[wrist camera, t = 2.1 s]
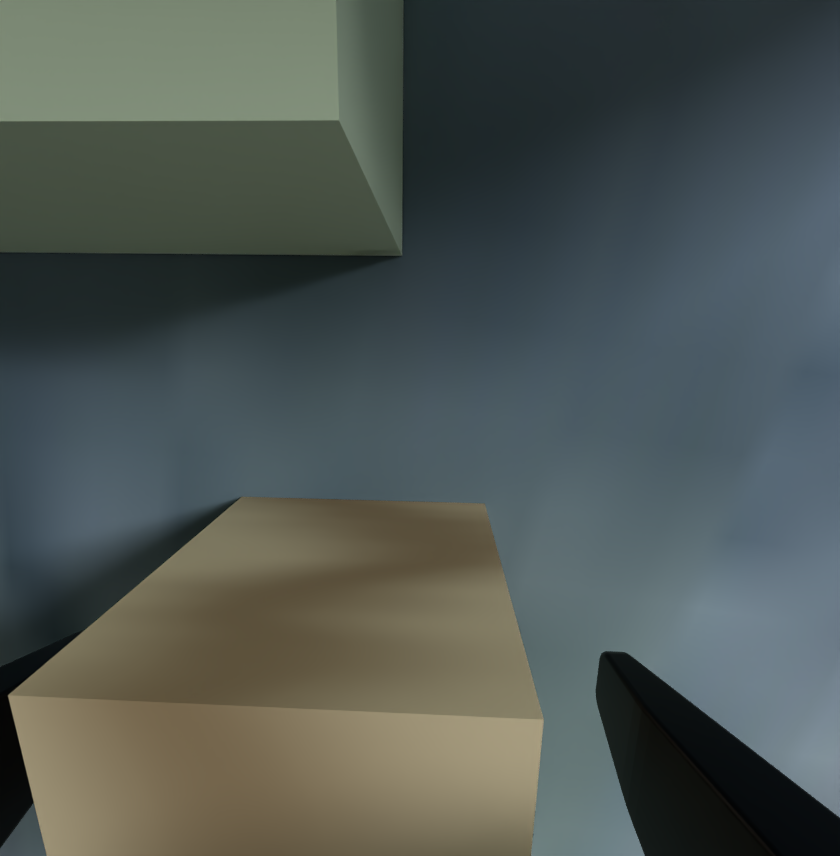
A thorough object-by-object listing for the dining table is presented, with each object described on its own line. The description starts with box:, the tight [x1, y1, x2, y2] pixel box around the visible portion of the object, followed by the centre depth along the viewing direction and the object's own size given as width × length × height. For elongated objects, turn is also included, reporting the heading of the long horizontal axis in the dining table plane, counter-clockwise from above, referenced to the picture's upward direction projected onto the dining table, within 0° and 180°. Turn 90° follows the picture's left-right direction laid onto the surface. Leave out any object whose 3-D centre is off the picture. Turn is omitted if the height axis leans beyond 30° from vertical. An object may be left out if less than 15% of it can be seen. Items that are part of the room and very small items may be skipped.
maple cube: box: [8, 497, 544, 856], centre depth 7 cm, size 5×5×5 cm
